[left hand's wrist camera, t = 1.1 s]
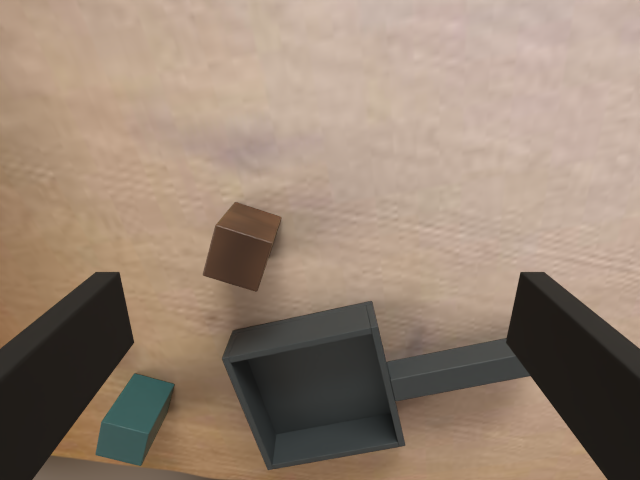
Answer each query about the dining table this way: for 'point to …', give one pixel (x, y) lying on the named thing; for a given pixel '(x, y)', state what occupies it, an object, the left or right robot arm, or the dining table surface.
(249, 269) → the walnut block
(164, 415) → the teal block
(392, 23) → the dining table surface
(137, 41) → the dining table surface
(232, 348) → the tray
